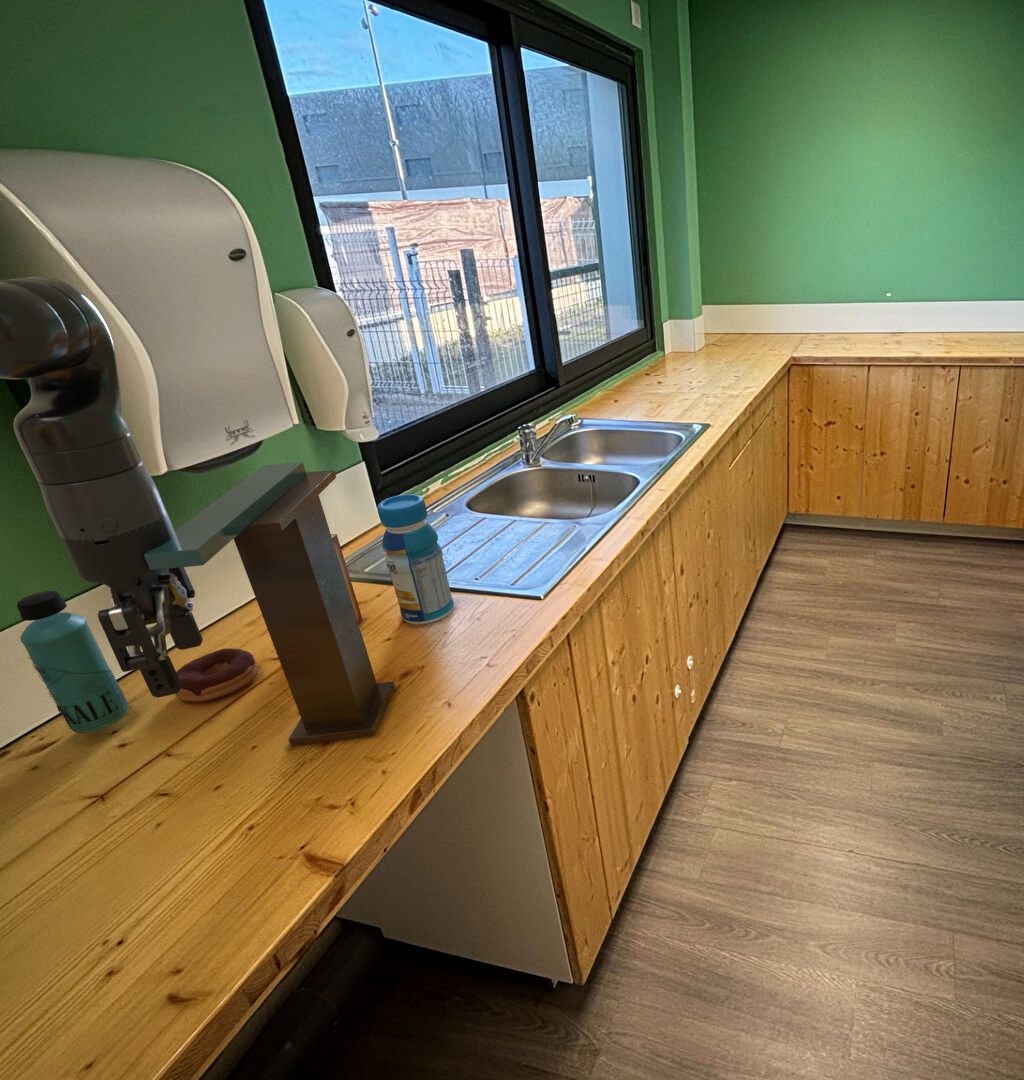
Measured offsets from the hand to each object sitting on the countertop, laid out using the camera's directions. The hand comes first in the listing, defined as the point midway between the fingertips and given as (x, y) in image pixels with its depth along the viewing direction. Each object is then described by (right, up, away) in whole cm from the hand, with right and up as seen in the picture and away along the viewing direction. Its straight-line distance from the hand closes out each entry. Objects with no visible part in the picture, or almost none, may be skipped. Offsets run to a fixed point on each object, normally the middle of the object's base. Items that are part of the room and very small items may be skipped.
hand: (180, 668), depth 69 cm
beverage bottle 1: (-28, -12, +24) cm, 39 cm away
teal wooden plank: (+3, +15, +4) cm, 16 cm away
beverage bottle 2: (+5, 0, +47) cm, 47 cm away
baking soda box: (-8, -3, +42) cm, 42 cm away
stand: (+4, -11, +22) cm, 25 cm away
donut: (-18, -8, +31) cm, 37 cm away
